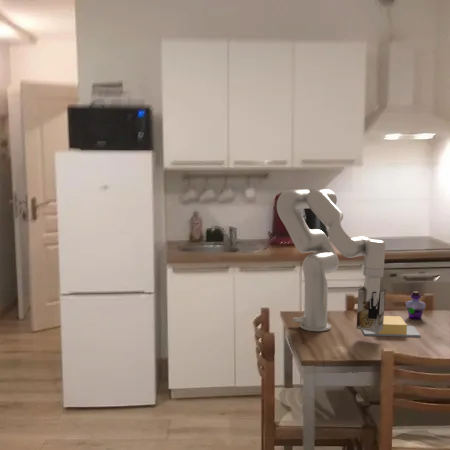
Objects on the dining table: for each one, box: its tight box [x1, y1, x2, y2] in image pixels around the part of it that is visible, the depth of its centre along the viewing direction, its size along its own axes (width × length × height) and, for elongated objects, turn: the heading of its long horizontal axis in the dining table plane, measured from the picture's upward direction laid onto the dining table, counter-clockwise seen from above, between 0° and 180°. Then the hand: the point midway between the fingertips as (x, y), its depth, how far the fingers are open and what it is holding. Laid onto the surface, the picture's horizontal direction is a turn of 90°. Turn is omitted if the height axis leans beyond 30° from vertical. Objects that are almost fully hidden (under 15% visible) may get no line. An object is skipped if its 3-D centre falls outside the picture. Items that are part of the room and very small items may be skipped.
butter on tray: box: [361, 315, 421, 338], centre depth 250 cm, size 22×13×5 cm, turn 85°
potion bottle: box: [405, 291, 427, 321], centre depth 271 cm, size 9×9×12 cm
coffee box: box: [355, 285, 386, 333], centre depth 238 cm, size 9×6×16 cm
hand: (370, 314), depth 238 cm, fingers closed on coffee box, 8 cm apart
